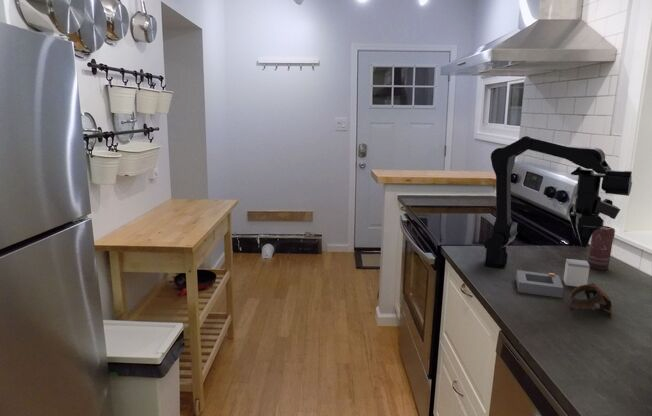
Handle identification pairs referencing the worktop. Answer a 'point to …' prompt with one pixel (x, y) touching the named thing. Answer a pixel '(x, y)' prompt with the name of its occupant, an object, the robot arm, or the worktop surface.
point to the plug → (576, 272)
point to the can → (601, 248)
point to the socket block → (539, 283)
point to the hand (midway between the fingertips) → (580, 242)
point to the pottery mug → (591, 298)
